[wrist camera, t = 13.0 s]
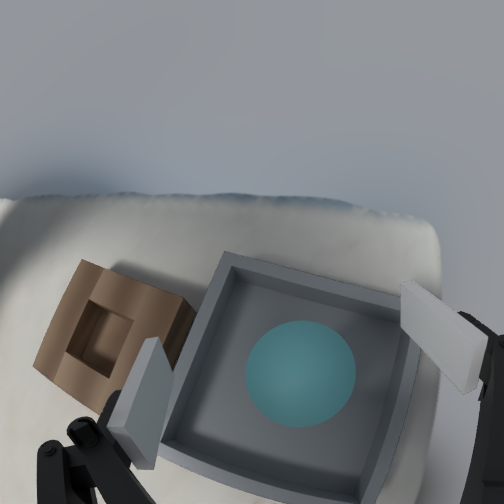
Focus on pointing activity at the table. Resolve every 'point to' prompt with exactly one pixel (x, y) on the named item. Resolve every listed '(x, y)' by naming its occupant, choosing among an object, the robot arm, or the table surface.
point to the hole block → (107, 332)
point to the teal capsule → (300, 373)
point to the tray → (266, 430)
